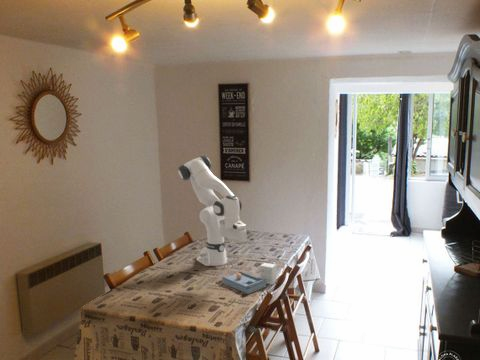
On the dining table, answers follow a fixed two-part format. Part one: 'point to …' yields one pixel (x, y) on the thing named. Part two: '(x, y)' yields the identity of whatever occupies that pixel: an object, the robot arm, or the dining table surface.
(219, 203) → the robot arm
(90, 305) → the dining table surface
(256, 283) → the blue tray
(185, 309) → the dining table surface
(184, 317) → the dining table surface
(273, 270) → the small box
